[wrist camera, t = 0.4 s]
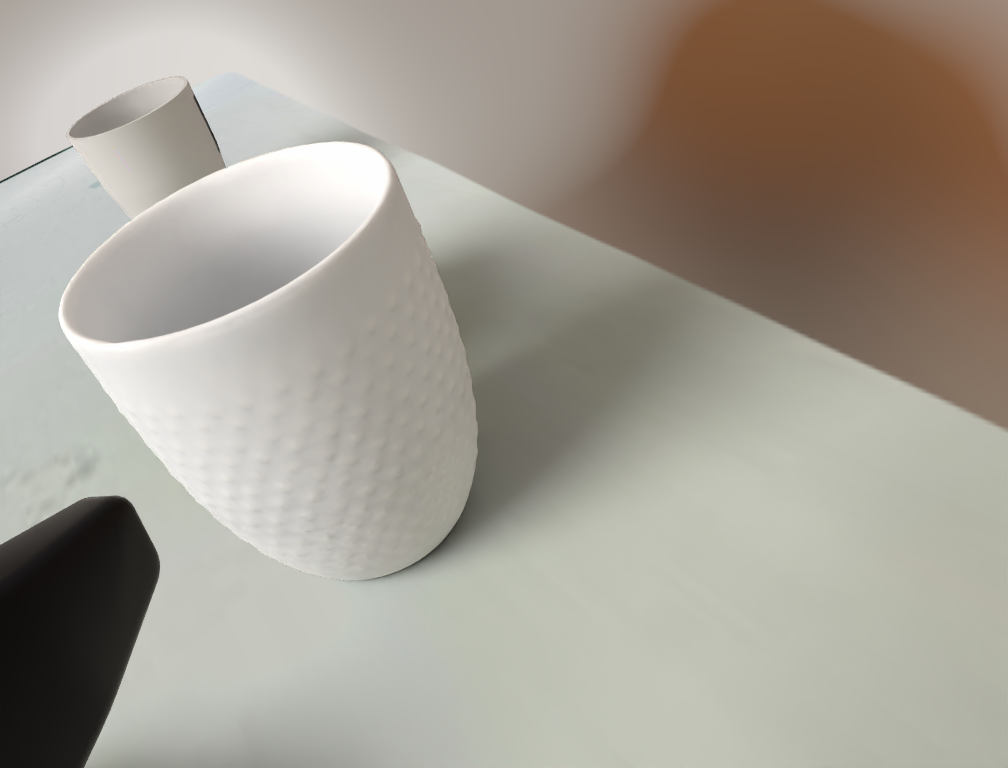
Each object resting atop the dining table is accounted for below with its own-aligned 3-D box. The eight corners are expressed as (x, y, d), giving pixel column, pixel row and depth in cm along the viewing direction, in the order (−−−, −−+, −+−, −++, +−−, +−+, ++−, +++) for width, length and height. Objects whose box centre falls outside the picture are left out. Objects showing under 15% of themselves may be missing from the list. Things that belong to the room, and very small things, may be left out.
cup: (283, 216, 61) (210, 76, 55) (189, 284, 57) (100, 142, 51) (222, 204, 66) (149, 76, 60) (132, 266, 62) (45, 135, 56)
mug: (216, 457, 41) (44, 215, 33) (424, 342, 43) (307, 88, 35) (296, 694, 29) (60, 408, 22) (575, 522, 31) (452, 203, 24)
